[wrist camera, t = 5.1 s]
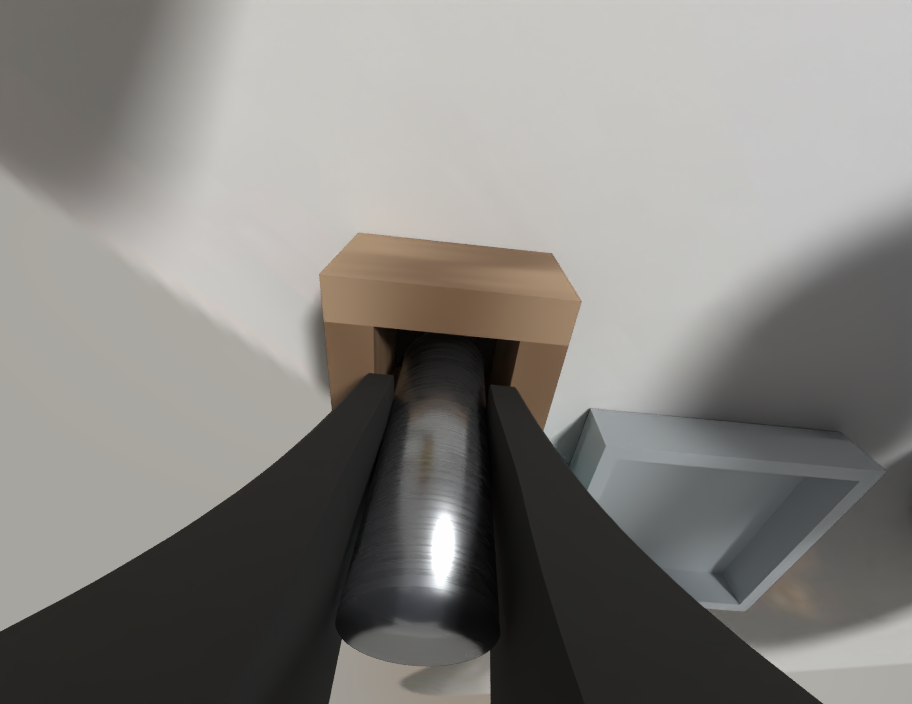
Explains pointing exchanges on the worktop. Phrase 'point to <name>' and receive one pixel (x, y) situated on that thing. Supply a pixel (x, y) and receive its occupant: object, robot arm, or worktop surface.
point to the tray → (720, 495)
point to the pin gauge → (428, 519)
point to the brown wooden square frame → (447, 310)
